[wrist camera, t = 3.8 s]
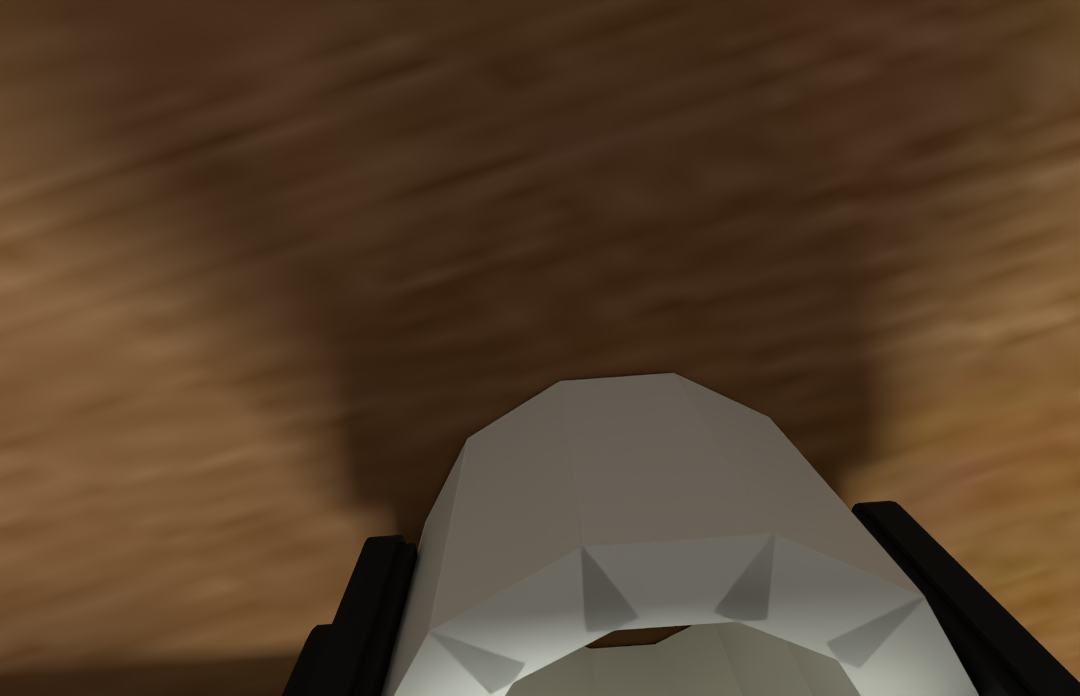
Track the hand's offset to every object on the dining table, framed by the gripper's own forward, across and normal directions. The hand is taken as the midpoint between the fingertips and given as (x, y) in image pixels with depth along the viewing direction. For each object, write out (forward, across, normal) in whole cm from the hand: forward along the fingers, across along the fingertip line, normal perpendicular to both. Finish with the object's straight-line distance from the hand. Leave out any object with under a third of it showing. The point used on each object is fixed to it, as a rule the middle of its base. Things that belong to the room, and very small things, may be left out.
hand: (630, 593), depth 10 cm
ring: (+1, 0, 0) cm, 1 cm away
